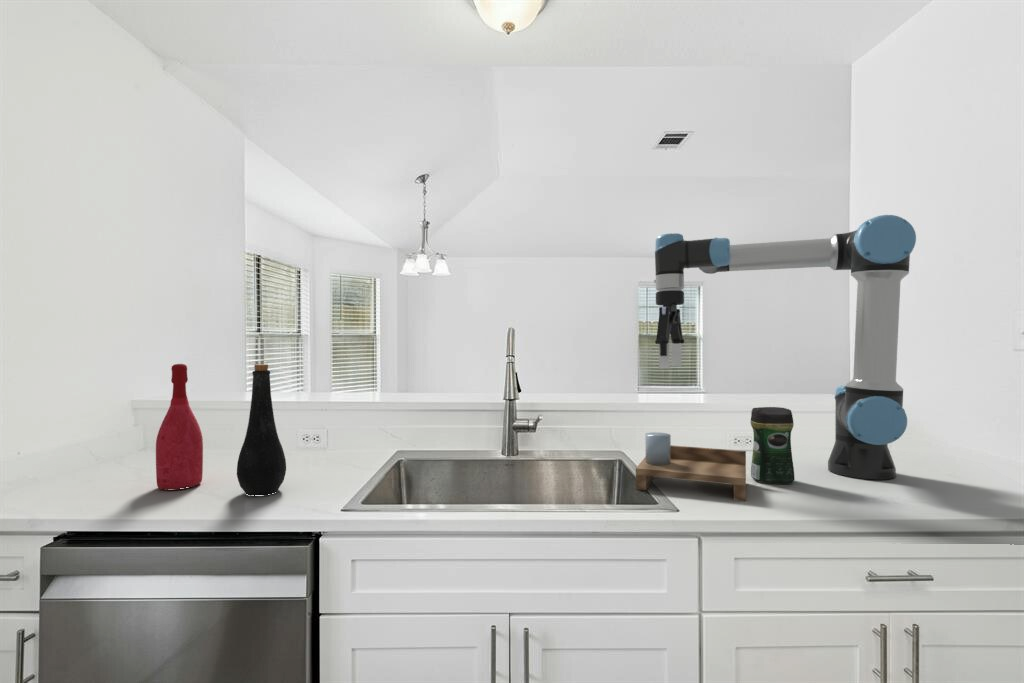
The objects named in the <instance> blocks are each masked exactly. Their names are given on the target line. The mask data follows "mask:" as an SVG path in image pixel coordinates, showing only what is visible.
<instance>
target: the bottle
mask: <svg viewBox="0 0 1024 683" xmlns="http://www.w3.org/2000/svg"><path fill="white" fill-rule="evenodd" d="M253 366H254V370H253V371H252V372H251V374H252V384H251V385H252V386H251V387H252V388H251V400H250V409H249V416H248V422H247V427H246V428H247V429H246V432H245V436H244V440H243V444H242V446H241V449H240V451H239V455H238V458H237V459H238V460H237V464H236V477H237V480H238V484H239V486H240V488H241V490H242V491H244V494H245V493H246V494H248V495H254V496H255V495H268V494H272V493H275V492H277V491H278V492H279V489H280V488H281V485H282V484H283V483H284V480H285V476H286V473H287V461H286V455H285V452H284V449H283V446H282V443H281V441H280V439H279V435H278V432H277V426H276V422H275V415H274V408H273V402H272V388H271V377H270V376H271V375H270V374H271V370H268V369H269V364H268V363H267V364H263V363H262V364H254V365H253ZM278 492H277V493H278ZM275 494H276V493H275ZM272 495H273V494H272ZM268 496H269V495H268Z"/></svg>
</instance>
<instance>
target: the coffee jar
mask: <svg viewBox="0 0 1024 683" xmlns="http://www.w3.org/2000/svg"><path fill="white" fill-rule="evenodd" d="M750 416H751V417H750V426H751V428H752V431H753V443H752V446H753V447H752V456H751V457H752V458H751V464H750V465H751V466H750V467H751V469H750V476H751V478H752V479H753V480H754V481H755V482H758V483H759V482H760V483H762V484H768V485H769V484H770V485H782V484H783V485H784V484H785V485H786V484H792V483H793V482H795V478H796V477H795V471H794V470H795V468H794V460H793V452H792V443H791V441H792V439H791V438H792V436H791V435H792V431H793V428H794V418H793V413H792V410H791V409H789V408H786V407H781V406H780V407H779V406H764V407H753V408H752V409H751V415H750Z"/></svg>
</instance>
